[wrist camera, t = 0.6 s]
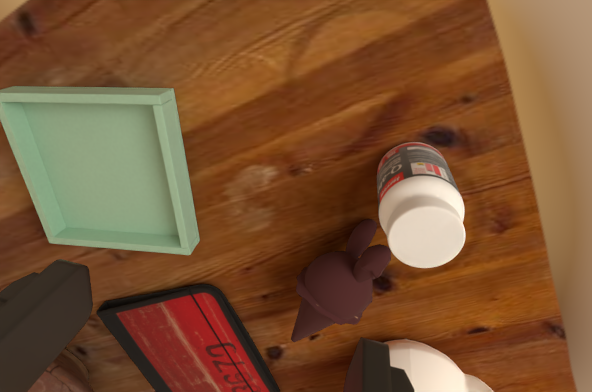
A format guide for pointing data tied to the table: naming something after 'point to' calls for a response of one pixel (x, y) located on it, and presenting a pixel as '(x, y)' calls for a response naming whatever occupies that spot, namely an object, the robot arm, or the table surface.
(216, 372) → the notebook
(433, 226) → the pill bottle
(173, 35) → the table surface
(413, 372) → the teapot
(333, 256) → the icecream
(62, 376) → the pottery vessel
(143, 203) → the tray
